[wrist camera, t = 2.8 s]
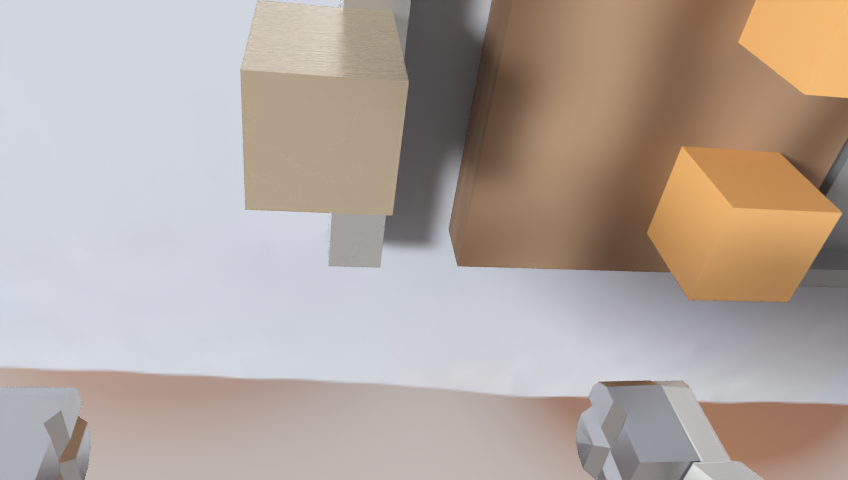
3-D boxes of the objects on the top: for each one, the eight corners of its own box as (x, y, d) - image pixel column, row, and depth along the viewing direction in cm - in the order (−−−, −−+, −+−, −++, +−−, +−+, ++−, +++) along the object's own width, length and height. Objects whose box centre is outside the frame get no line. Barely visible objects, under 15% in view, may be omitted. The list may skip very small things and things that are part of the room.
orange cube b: (779, 152, 26) (842, 212, 23) (736, 236, 28) (788, 302, 25) (681, 146, 25) (733, 207, 22) (646, 233, 27) (688, 299, 24)
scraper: (423, -231, 19) (470, -206, 13) (375, 222, 29) (389, 362, 23) (262, -255, 19) (229, -241, 12) (267, 218, 28) (250, 362, 22)
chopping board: (941, -149, 22) (1002, -136, 20) (742, 240, 32) (769, 275, 30) (531, -212, 20) (554, -205, 18) (448, 229, 29) (457, 266, 27)
